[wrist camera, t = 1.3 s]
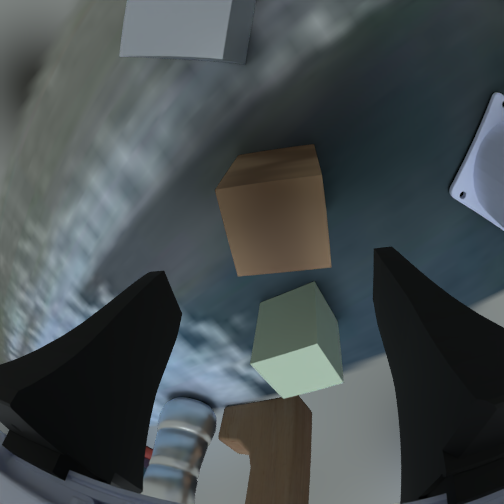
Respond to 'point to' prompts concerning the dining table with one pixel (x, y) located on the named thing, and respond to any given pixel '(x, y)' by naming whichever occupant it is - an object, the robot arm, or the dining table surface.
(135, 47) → the grey block
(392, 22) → the dining table surface
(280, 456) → the wooden block
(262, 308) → the sage block
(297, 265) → the walnut block
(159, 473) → the plastic bottle
